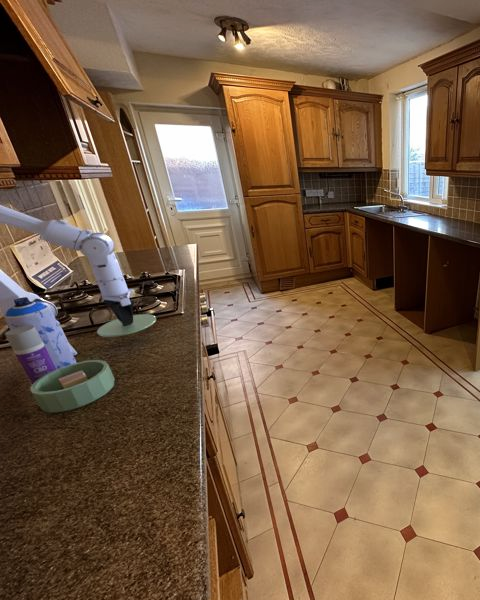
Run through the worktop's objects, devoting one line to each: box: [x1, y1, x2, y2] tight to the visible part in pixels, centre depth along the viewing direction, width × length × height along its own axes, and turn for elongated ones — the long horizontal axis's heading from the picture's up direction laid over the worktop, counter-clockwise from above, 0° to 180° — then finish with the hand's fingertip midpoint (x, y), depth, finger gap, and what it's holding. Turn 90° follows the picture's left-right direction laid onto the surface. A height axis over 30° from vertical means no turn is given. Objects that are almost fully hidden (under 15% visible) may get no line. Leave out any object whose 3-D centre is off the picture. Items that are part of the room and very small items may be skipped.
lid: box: [96, 313, 157, 338], centre depth 94 cm, size 14×14×5 cm
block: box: [58, 370, 89, 389], centre depth 73 cm, size 4×4×4 cm
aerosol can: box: [3, 297, 77, 369], centre depth 79 cm, size 8×8×20 cm
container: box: [4, 326, 57, 386], centre depth 74 cm, size 5×5×15 cm
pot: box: [29, 359, 116, 414], centre depth 73 cm, size 13×13×5 cm
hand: (126, 322), depth 94 cm, fingers closed on lid, 2 cm apart
